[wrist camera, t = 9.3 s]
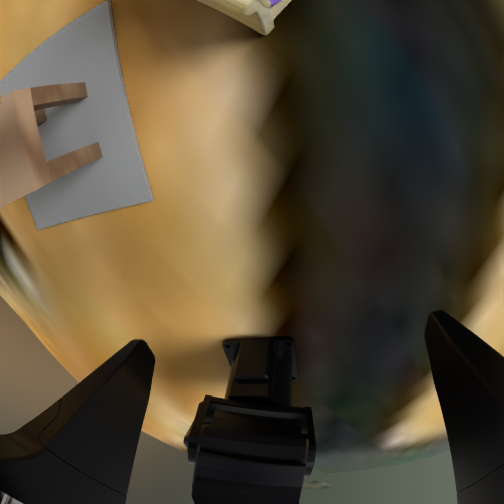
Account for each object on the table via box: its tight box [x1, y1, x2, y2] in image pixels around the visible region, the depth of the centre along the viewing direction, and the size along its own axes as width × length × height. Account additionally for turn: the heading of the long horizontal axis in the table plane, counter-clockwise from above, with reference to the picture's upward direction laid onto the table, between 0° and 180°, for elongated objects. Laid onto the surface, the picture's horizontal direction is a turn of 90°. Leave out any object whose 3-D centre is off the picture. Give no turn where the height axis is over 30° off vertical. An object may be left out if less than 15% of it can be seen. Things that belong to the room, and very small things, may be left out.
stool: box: [0, 82, 103, 208], centre depth 13 cm, size 6×6×7 cm
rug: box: [0, 0, 154, 230], centre depth 16 cm, size 16×14×1 cm
